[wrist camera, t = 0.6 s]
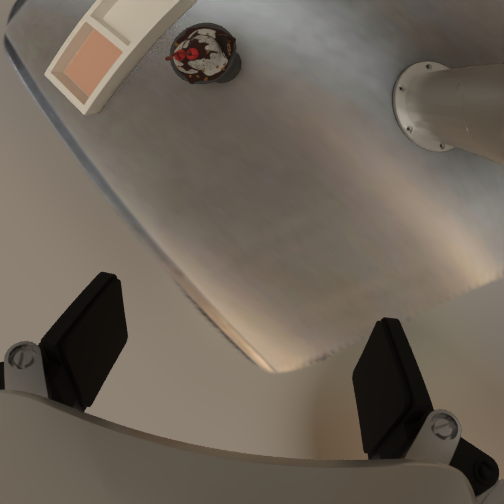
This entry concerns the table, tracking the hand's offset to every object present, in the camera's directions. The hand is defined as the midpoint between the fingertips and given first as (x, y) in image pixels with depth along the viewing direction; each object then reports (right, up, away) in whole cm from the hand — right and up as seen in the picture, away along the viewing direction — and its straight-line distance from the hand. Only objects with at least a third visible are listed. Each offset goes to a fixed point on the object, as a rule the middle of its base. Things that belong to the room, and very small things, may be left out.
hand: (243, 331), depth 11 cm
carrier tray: (-18, +33, +22) cm, 44 cm away
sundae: (-3, +26, +24) cm, 36 cm away
